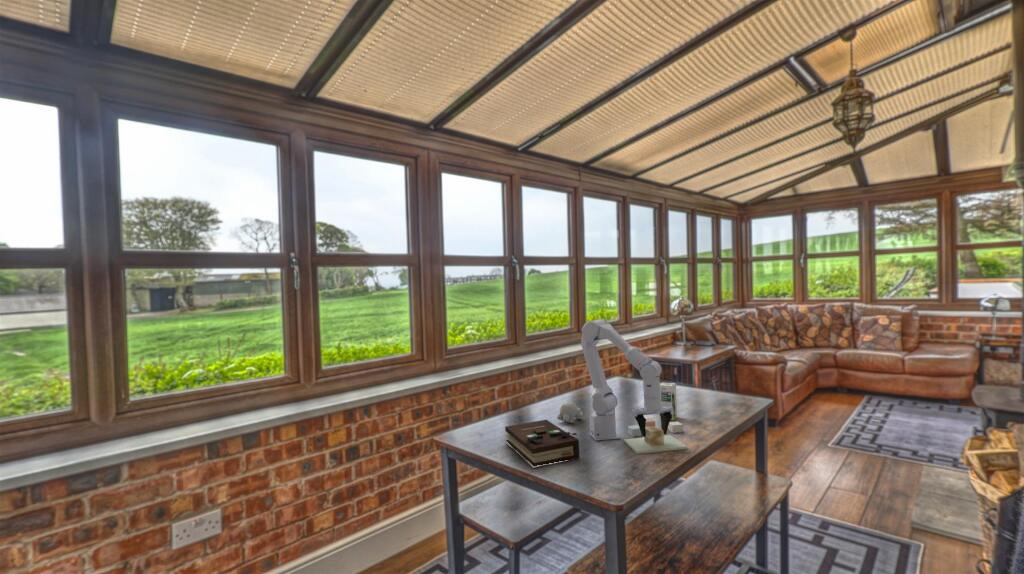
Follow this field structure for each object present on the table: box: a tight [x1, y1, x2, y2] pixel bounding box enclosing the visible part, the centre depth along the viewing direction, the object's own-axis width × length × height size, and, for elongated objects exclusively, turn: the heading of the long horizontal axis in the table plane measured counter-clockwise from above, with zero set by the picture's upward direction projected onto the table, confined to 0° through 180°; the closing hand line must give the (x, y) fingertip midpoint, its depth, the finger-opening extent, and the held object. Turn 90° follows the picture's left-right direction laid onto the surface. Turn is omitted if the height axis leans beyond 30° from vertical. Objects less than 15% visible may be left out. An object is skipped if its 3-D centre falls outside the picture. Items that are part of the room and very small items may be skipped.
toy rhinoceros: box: [556, 401, 583, 424], centre depth 190 cm, size 7×12×8 cm, turn 124°
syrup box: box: [660, 382, 678, 422], centre depth 188 cm, size 6×6×14 cm
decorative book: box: [504, 419, 580, 466], centre depth 159 cm, size 19×8×30 cm
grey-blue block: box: [627, 424, 643, 438], centre depth 170 cm, size 4×4×3 cm
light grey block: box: [667, 420, 684, 434], centre depth 172 cm, size 4×4×3 cm
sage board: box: [622, 434, 688, 455], centre depth 159 cm, size 18×12×1 cm, turn 97°
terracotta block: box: [645, 417, 656, 427], centre depth 178 cm, size 4×4×3 cm
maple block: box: [643, 425, 665, 446], centre depth 159 cm, size 5×5×5 cm
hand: (653, 434), depth 159 cm, fingers open, 7 cm apart
